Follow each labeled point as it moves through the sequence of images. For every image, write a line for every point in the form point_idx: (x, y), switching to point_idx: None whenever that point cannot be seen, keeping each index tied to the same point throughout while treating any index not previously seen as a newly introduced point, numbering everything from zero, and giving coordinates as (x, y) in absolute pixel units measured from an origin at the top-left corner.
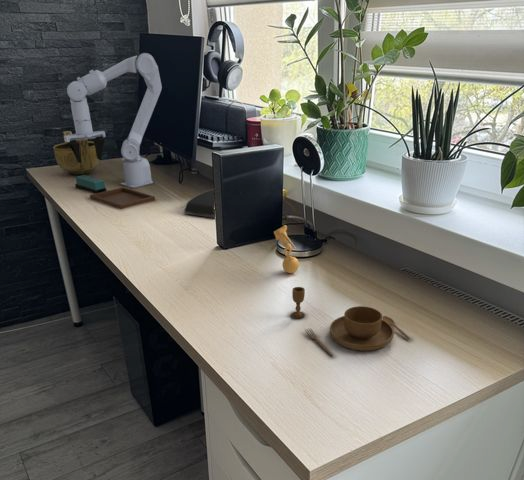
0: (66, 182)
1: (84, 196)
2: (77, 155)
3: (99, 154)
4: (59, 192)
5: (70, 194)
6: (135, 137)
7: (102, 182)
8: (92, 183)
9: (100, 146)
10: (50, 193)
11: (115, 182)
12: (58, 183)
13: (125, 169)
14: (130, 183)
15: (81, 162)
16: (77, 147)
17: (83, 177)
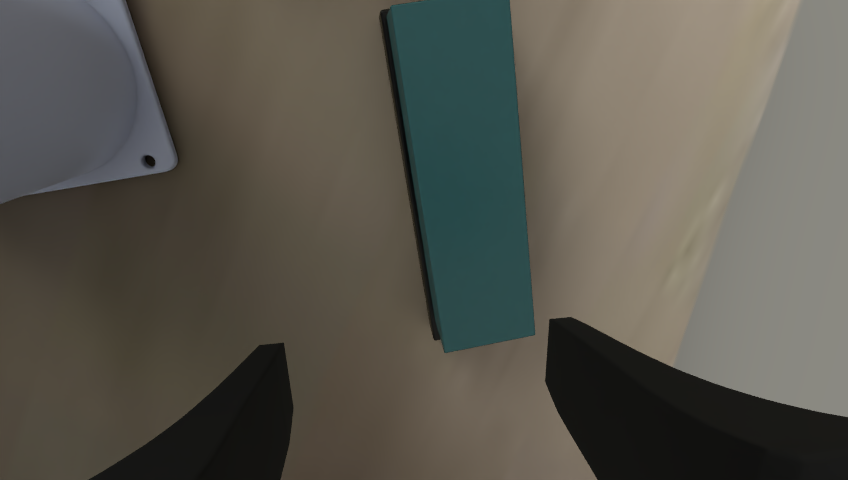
0: (496, 466)
1: (584, 16)
2: (643, 362)
3: (264, 377)
4: (651, 261)
5: (627, 157)
6: None
7: (411, 4)
8: (508, 41)
9: (184, 451)
10: (702, 274)
11: (196, 273)
12: (545, 469)
13: (24, 48)
14: (92, 17)
15: (551, 319)
16: (740, 414)
17: (493, 275)
